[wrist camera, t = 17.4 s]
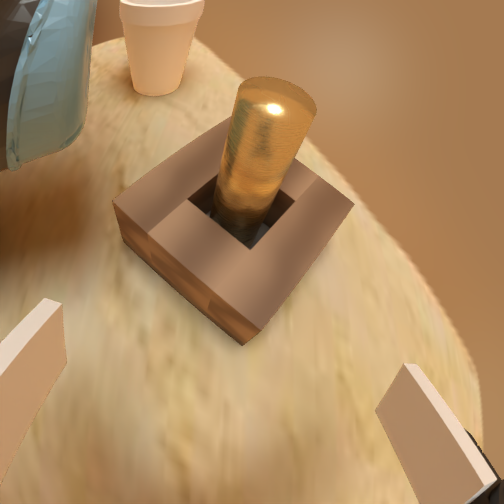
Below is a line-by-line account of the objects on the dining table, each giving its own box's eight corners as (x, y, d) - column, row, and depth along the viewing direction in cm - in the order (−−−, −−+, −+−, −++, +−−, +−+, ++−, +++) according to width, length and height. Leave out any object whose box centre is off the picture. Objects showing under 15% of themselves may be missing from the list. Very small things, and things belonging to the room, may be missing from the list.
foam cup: (206, 85, 36) (223, -2, 25) (148, 113, 32) (151, 13, 21) (163, 59, 38) (170, -18, 26) (108, 82, 33) (105, -3, 22)
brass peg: (196, 234, 25) (220, 92, 13) (227, 205, 27) (269, 69, 15) (233, 265, 25) (289, 136, 13) (263, 233, 27) (329, 106, 15)
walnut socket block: (123, 241, 25) (112, 200, 20) (221, 159, 31) (231, 115, 26) (242, 345, 23) (261, 330, 18) (325, 238, 29) (354, 204, 24)
